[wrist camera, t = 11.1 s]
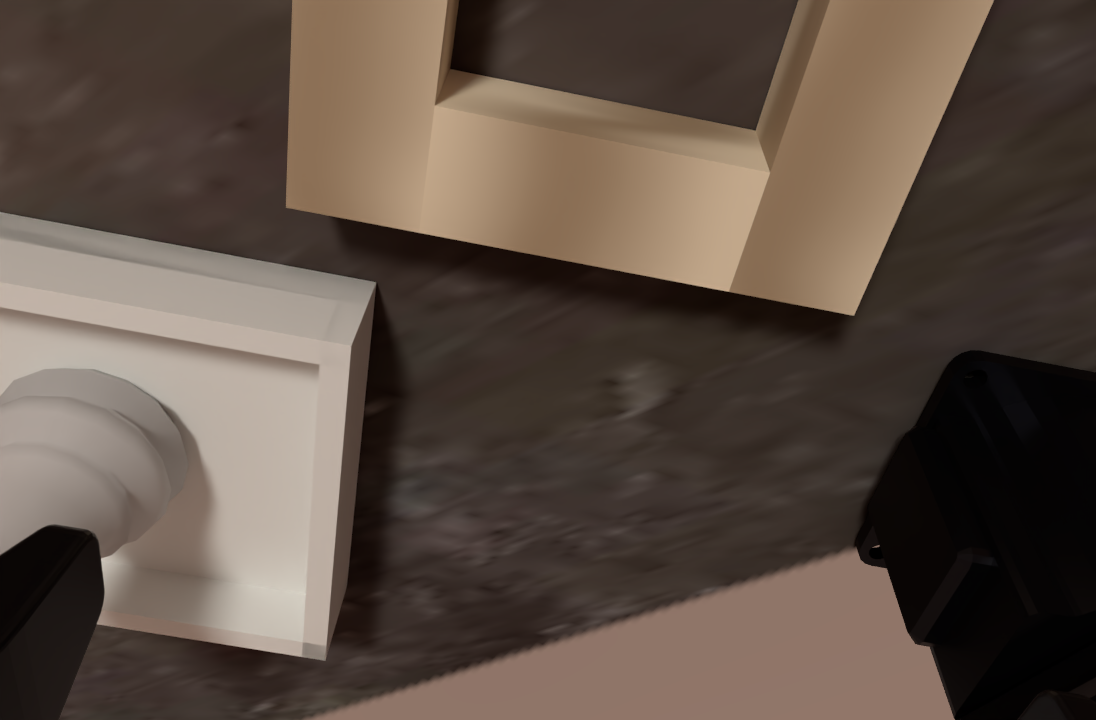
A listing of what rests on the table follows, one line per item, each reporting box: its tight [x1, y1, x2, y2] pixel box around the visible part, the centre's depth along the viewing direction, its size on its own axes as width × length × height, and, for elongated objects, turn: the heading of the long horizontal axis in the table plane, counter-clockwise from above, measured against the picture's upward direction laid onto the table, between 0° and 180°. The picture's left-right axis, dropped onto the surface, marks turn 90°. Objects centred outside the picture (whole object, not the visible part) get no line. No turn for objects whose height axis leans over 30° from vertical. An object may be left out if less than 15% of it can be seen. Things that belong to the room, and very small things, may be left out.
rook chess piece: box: [0, 368, 189, 558], centre depth 19 cm, size 4×4×8 cm
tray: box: [0, 212, 376, 660], centre depth 22 cm, size 12×10×2 cm
